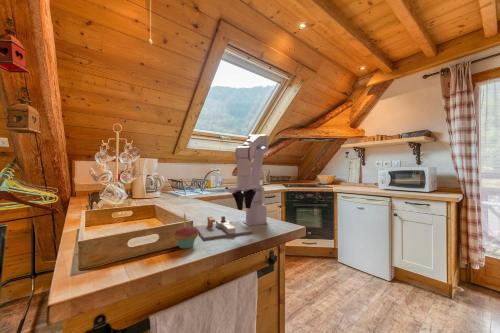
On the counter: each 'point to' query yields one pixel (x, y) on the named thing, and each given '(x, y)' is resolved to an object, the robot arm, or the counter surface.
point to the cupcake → (186, 235)
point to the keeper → (210, 221)
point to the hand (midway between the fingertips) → (244, 209)
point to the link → (226, 226)
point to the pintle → (223, 219)
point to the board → (221, 231)
